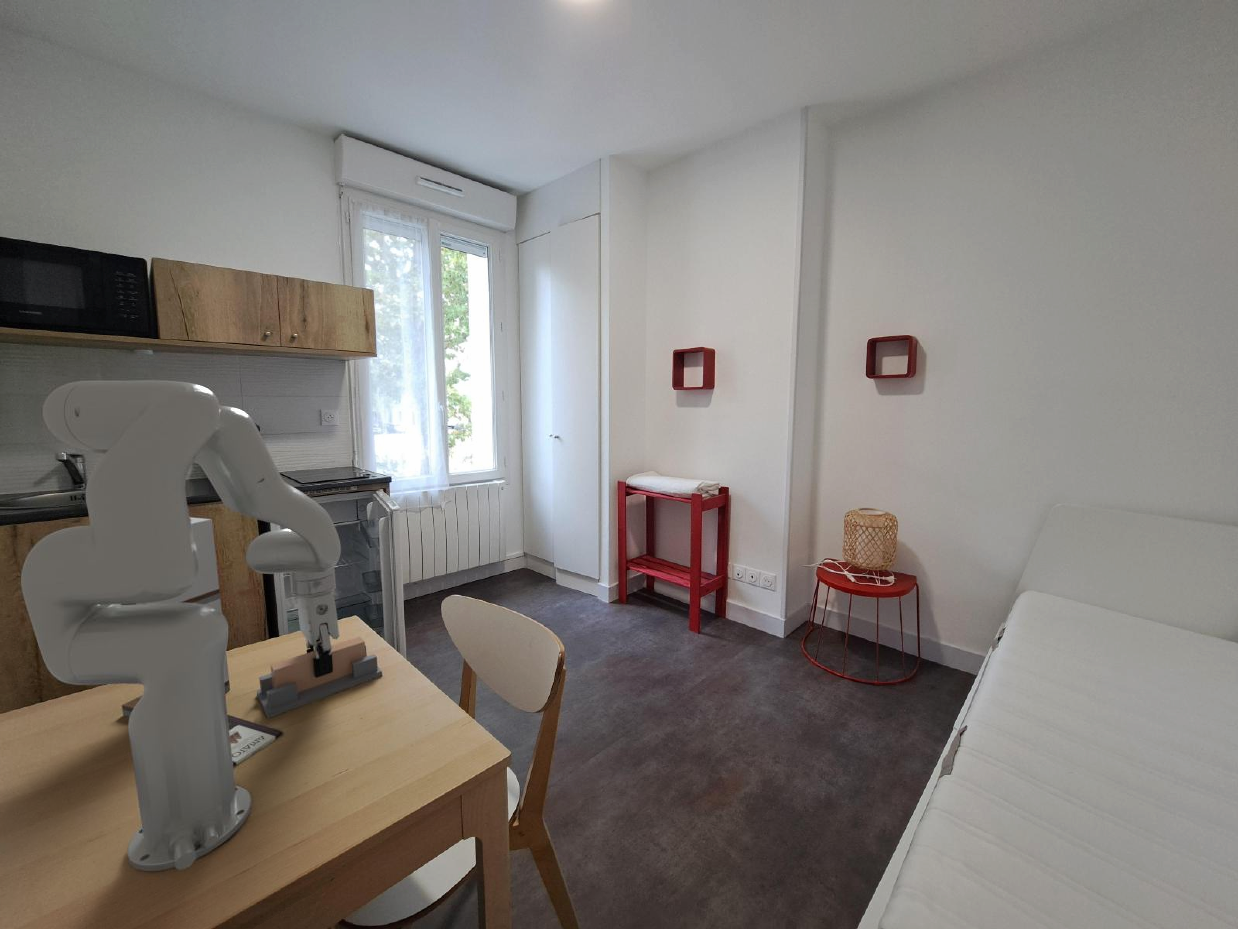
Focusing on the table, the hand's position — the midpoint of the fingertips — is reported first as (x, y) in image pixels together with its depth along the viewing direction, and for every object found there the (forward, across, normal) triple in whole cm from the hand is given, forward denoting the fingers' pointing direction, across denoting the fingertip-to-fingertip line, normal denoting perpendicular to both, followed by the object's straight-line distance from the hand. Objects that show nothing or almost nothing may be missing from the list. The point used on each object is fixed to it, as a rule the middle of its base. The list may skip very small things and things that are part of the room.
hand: (320, 669), depth 100 cm
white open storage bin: (+4, +13, +21) cm, 25 cm away
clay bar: (+2, 0, 0) cm, 2 cm away
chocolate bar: (+4, -6, +17) cm, 18 cm away
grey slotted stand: (+3, 0, 0) cm, 3 cm away
